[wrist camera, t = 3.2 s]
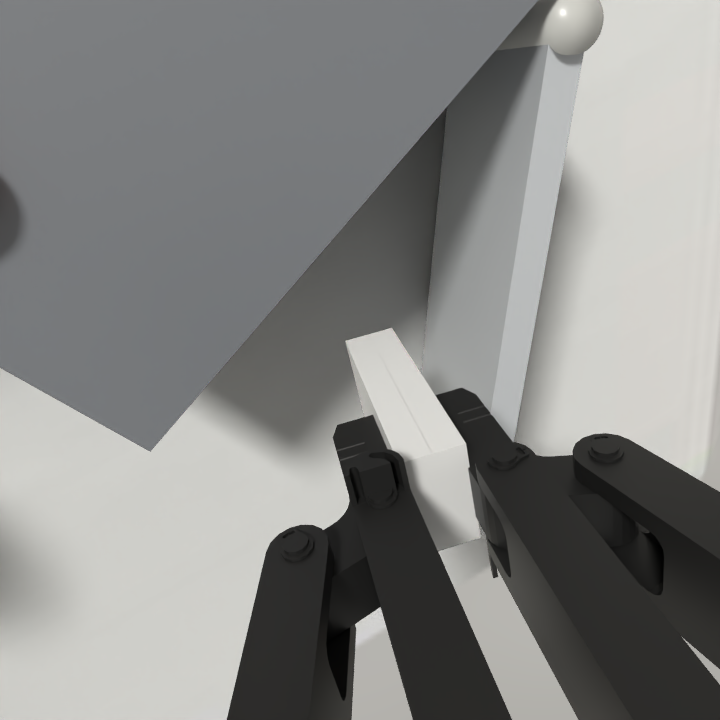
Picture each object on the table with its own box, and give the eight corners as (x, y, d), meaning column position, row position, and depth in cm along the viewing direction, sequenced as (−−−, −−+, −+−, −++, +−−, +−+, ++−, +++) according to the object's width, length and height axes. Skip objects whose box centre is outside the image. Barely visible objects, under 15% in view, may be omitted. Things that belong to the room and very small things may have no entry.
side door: (454, 375, 27) (529, 470, 20) (415, 377, 26) (479, 475, 20) (498, 20, 21) (623, -8, 14) (449, 16, 21) (556, -14, 14)
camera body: (174, 342, 24) (151, 470, 16) (-92, 166, 19) (-304, 223, 12) (486, -34, 20) (651, -106, 13) (250, -345, 16) (278, -748, 8)
